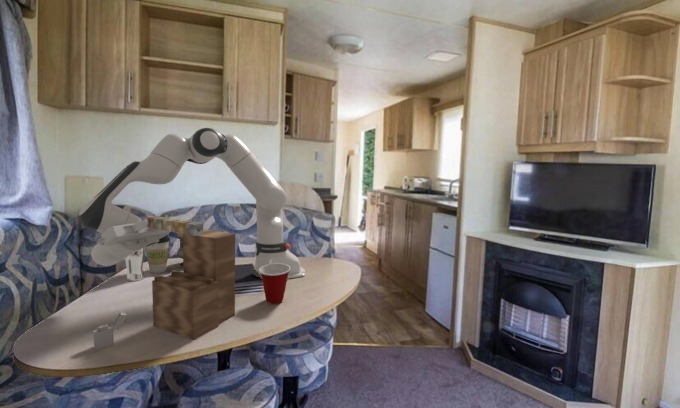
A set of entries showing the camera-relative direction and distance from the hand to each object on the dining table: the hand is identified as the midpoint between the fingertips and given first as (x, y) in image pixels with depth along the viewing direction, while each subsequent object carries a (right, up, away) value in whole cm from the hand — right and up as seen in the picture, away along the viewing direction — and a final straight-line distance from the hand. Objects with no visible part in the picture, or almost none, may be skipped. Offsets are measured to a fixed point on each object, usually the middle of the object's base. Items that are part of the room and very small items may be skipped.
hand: (155, 220), depth 103 cm
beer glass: (-27, -25, +37) cm, 52 cm away
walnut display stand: (+11, -30, +3) cm, 32 cm away
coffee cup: (-24, -24, +48) cm, 59 cm away
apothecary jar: (-14, -23, +59) cm, 65 cm away
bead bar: (+6, -3, -3) cm, 7 cm away
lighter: (-5, -31, -12) cm, 34 cm away
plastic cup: (+31, -29, +20) cm, 47 cm away
